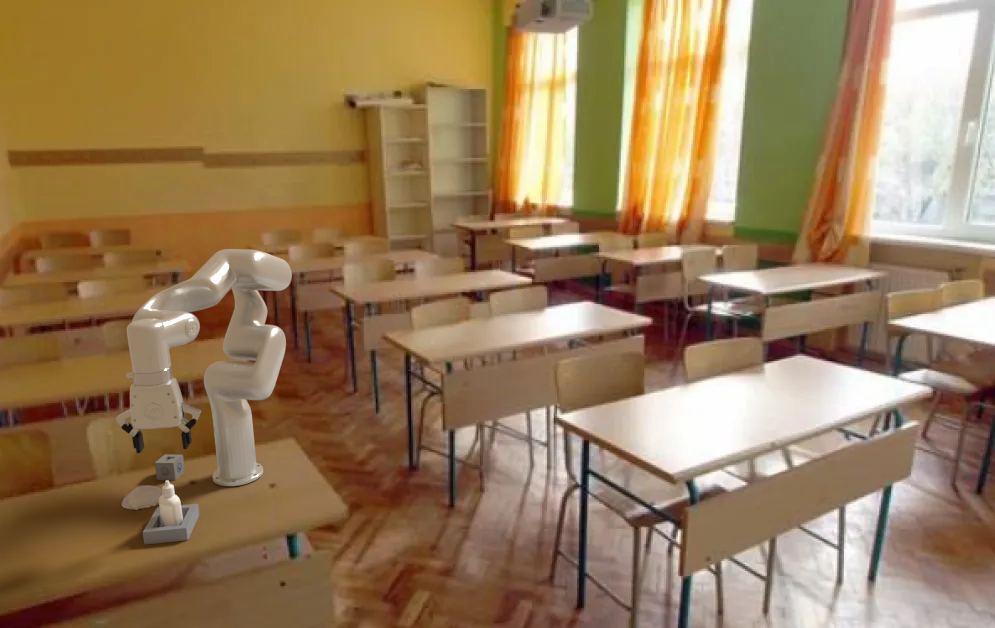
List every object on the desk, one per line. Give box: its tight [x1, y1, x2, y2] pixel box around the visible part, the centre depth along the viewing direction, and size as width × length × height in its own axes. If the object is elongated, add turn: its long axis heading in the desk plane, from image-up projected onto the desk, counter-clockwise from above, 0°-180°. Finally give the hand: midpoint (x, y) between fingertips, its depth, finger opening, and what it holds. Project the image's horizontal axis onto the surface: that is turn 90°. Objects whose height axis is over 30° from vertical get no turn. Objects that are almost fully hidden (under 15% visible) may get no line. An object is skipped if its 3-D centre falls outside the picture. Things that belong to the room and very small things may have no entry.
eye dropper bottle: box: [158, 480, 183, 527], centre depth 158 cm, size 4×6×12 cm
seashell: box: [121, 485, 163, 511], centre depth 172 cm, size 10×6×10 cm
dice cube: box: [154, 453, 186, 481], centre depth 185 cm, size 5×5×5 cm
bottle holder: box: [142, 503, 200, 545], centre depth 159 cm, size 11×9×3 cm
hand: (163, 448), depth 155 cm, fingers open, 9 cm apart
